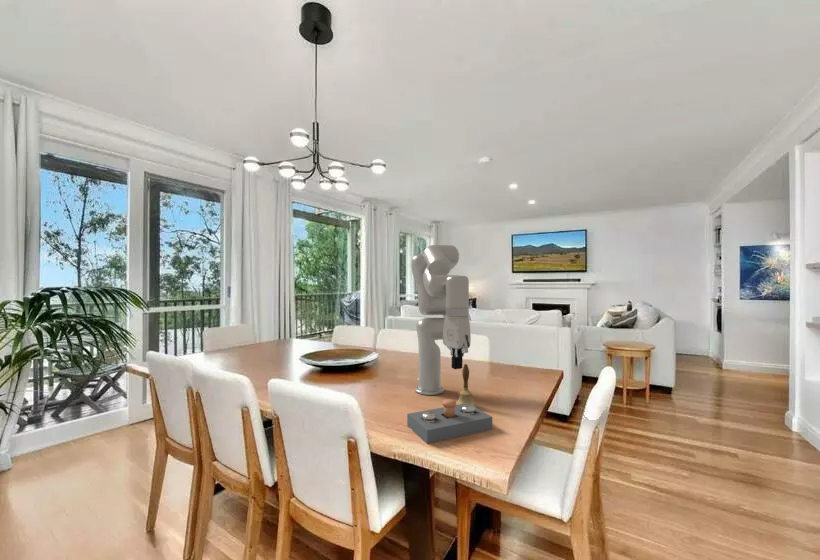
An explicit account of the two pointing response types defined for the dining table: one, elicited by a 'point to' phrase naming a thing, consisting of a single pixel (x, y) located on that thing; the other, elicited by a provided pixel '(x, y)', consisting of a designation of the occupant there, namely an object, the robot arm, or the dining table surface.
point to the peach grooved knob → (449, 408)
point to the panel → (448, 424)
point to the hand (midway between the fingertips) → (457, 368)
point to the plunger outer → (429, 416)
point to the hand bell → (466, 389)
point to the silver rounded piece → (468, 409)
